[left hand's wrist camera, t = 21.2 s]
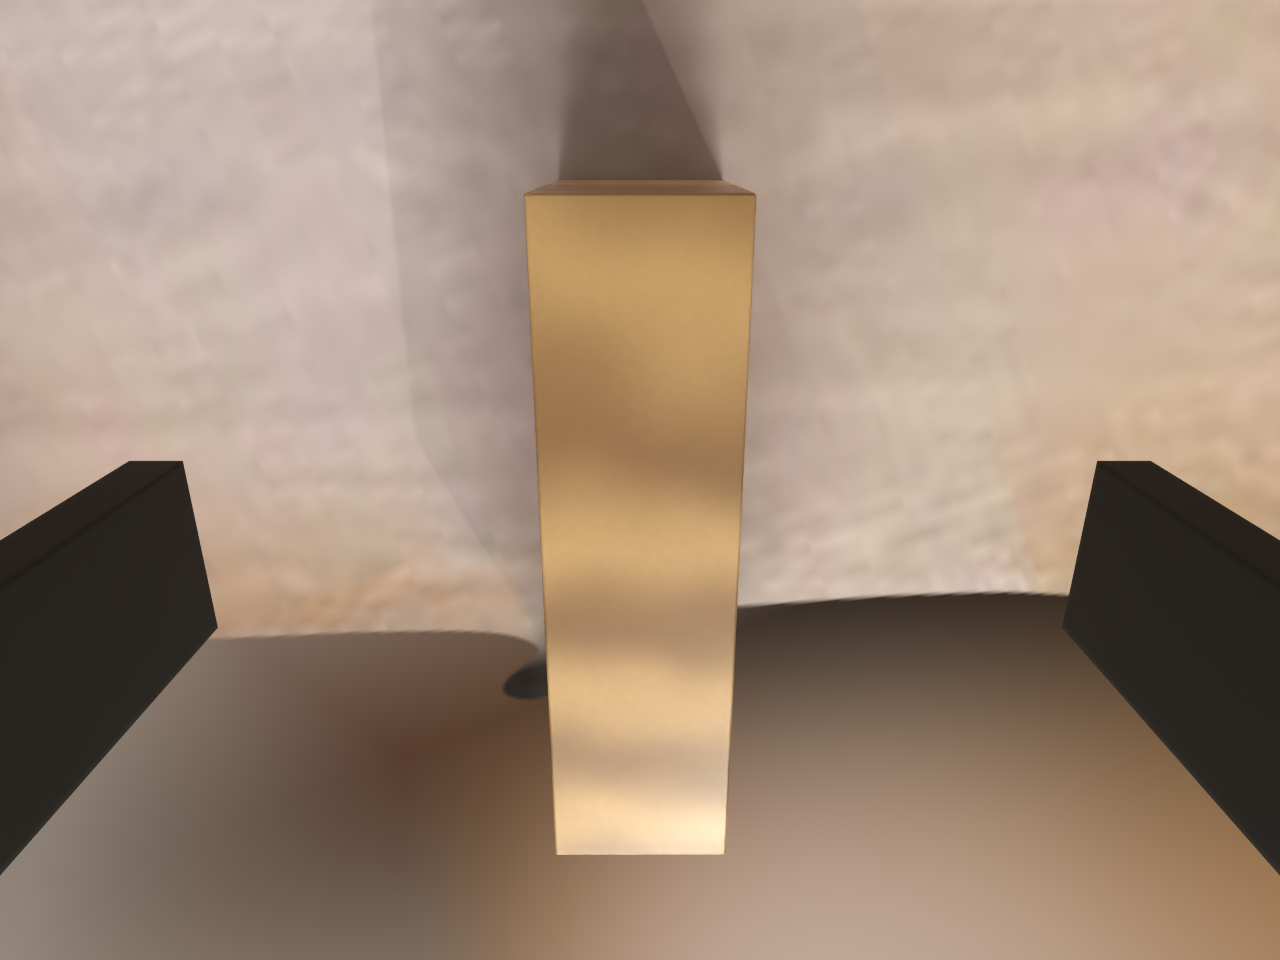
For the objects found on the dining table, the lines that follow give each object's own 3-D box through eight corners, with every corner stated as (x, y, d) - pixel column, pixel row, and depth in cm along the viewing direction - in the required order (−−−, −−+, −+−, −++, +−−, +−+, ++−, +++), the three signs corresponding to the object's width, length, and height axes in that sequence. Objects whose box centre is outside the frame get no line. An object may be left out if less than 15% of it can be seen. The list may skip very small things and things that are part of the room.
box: (557, 179, 33) (523, 193, 24) (723, 179, 33) (757, 192, 24) (575, 693, 42) (555, 855, 32) (706, 693, 42) (725, 855, 32)
